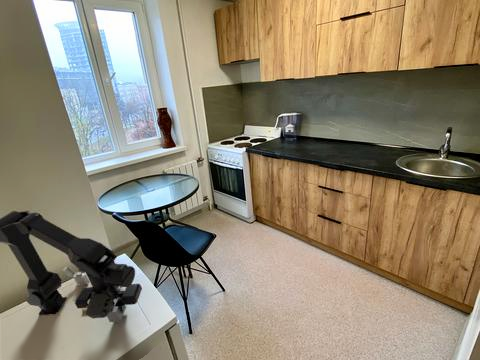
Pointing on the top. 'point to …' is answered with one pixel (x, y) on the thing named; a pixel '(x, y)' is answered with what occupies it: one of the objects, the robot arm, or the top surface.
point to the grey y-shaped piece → (77, 276)
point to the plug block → (115, 314)
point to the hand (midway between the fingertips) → (117, 312)
